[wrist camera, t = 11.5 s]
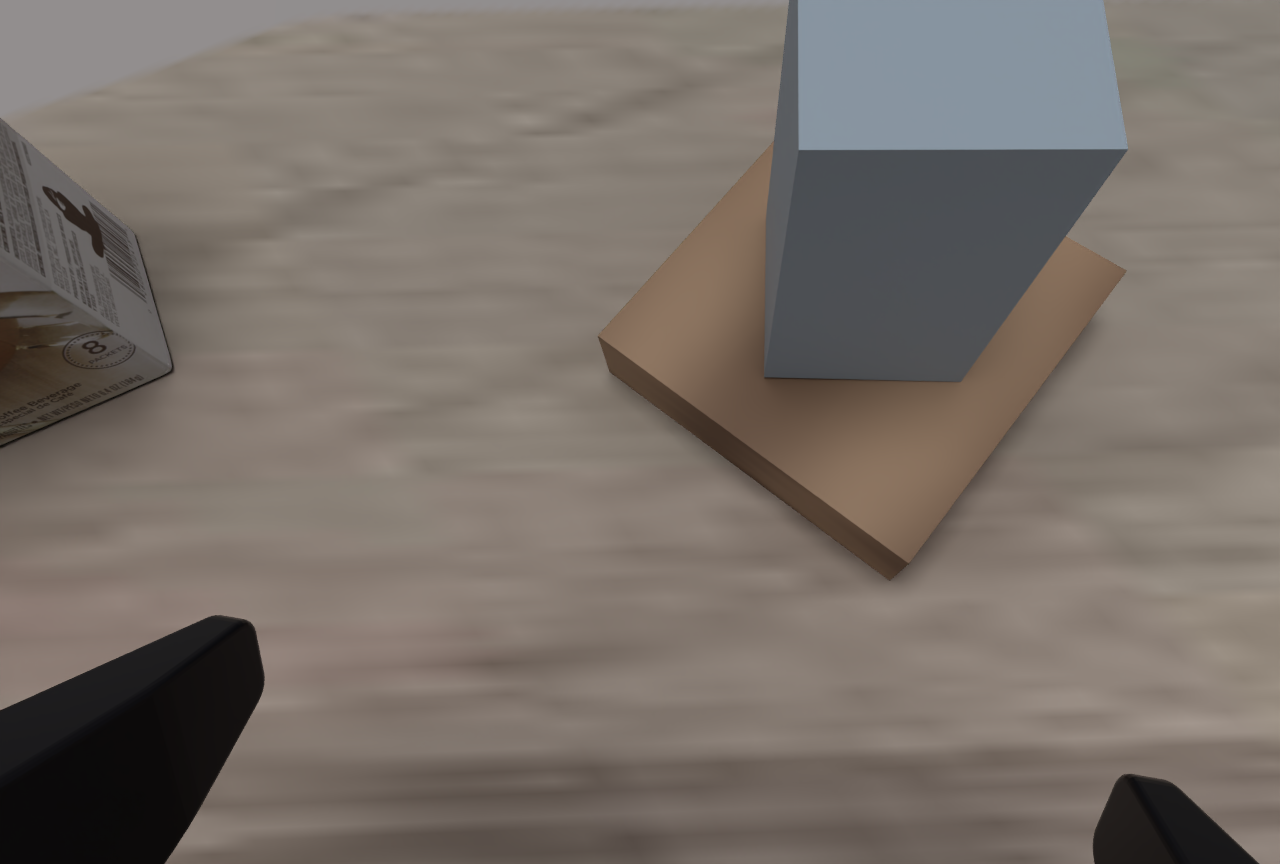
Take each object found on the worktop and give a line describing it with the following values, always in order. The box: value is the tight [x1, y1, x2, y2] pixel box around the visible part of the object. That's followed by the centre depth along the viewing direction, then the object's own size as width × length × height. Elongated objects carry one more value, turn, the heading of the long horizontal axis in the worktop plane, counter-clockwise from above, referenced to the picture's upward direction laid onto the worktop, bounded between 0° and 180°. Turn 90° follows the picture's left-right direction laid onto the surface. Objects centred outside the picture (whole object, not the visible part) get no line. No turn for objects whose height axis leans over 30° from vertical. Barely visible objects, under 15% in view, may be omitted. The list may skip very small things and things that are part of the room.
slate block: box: [764, 0, 1128, 382], centre depth 18 cm, size 5×5×9 cm
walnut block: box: [598, 142, 1126, 581], centre depth 24 cm, size 10×10×3 cm
